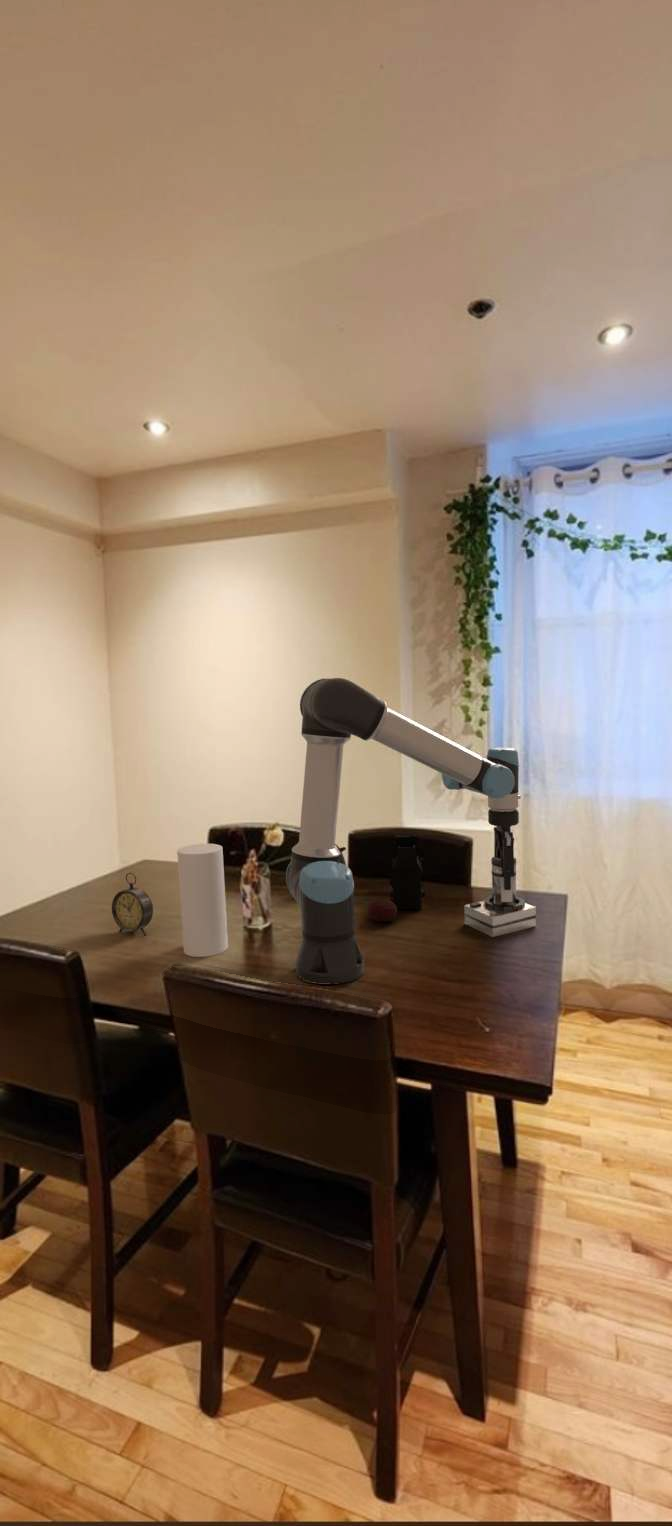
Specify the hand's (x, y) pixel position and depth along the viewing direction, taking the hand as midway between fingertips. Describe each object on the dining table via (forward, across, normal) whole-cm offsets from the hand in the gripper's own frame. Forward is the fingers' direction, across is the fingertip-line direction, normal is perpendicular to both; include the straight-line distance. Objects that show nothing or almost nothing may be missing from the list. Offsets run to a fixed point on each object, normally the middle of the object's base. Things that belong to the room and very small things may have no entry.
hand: (504, 896), depth 174 cm
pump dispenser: (+7, +31, +46) cm, 56 cm away
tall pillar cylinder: (+8, -14, +75) cm, 76 cm away
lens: (+2, 0, 0) cm, 2 cm away
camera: (+7, +18, +24) cm, 31 cm away
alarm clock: (+8, -2, +97) cm, 97 cm away
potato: (+8, +4, +32) cm, 33 cm away
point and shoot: (+7, -1, +1) cm, 7 cm away
